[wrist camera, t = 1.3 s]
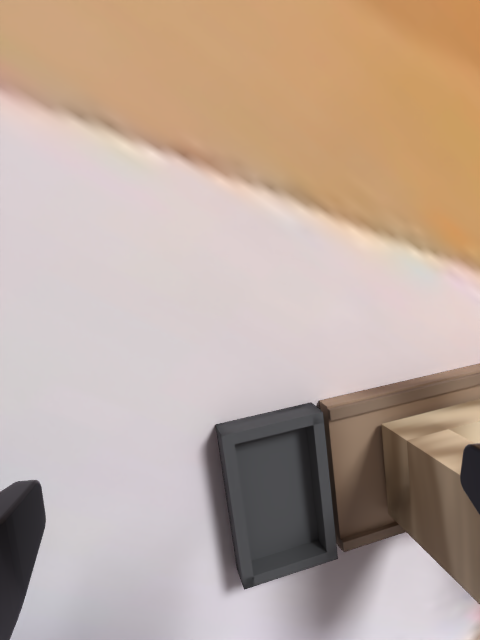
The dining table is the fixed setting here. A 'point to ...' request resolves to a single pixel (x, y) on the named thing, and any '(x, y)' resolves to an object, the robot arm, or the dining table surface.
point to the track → (378, 447)
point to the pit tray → (278, 492)
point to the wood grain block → (436, 487)
